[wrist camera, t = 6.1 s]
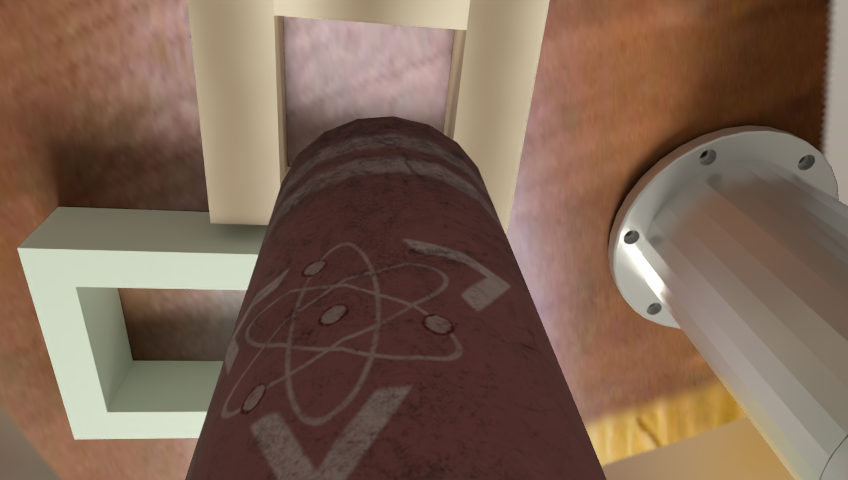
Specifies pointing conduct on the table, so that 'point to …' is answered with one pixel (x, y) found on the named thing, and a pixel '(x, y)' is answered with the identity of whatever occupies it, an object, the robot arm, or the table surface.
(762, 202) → the robot arm
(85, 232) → the pale green square frame
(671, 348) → the table surface
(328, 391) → the can
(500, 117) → the socket block
